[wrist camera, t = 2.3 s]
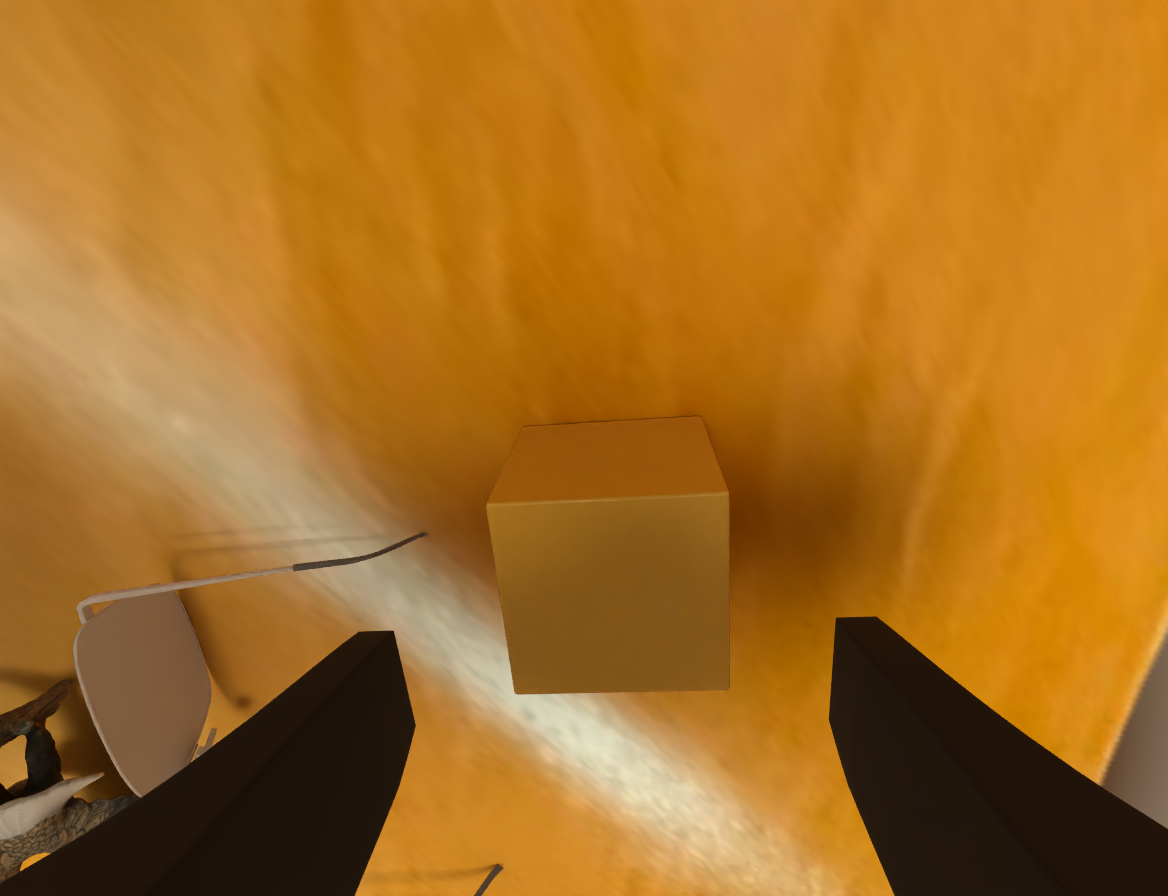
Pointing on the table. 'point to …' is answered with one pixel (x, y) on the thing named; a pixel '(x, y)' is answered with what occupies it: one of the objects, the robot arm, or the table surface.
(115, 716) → the eyeglasses
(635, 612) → the block
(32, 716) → the eagle figurine
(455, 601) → the table surface
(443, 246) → the table surface
